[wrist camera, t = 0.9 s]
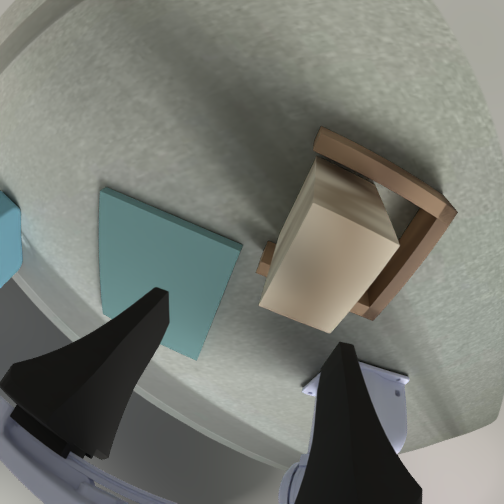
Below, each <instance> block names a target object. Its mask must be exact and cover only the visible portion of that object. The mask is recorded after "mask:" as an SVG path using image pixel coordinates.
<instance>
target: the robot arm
mask: <svg viewBox="0 0 504 504" xmlns="http://www.w3.org/2000/svg"><path fill="white" fill-rule="evenodd" d="M169 323H170V315H169V291H166V290H164V289H161V288H158V287H154V288H153V289H152V290H150V291H149V292H148V293H147V294H145V295H144V296H143V297H141V298H140V299H139V300H138V301H136V302H135V303H134V304H132V305H131V306H130V307H128V308H127V309H126V310H124V311H123V312H122V313H120V314H119V315H117V316H116V317H115V318H113V319H112V320H110V321H109V322H107V323H106V324H104V325H103V326H101V327H100V328H98V329H96V330H95V331H93V332H91V333H90V334H88V335H86V336H84V337H83V338H81V339H79V340H77V341H75V342H73V343H71V344H69V345H67V346H65V347H62V348H60V349H58V350H55V351H53V352H50V353H47V354H45V355H42V356H39V357H36V358H33V359H29V360H26V361H22V362H18V363H14V364H13V365H12V366H11V367H10V369H9V370H8V372H7V373H6V374H5V376H4V377H3V379H2V380H1V382H0V388H1V389H2V390H3V391H4V392H5V393H6V394H7V395H8V396H9V397H10V398H11V399H12V400H13V401H14V402H15V403H16V404H17V405H16V407H15V408H14V407H12V406H11V405H10V404H9V403H8V402H7V401H6V400H5V399H4V398H3V397H2V396H1V395H0V460H1V461H2V462H3V463H4V465H5V466H6V467H7V468H8V469H9V470H10V471H11V472H12V473H13V474H14V475H15V476H16V477H17V478H18V479H19V481H21V482H22V483H23V484H24V485H25V486H26V487H27V488H28V489H29V490H30V491H31V492H32V493H33V494H34V495H35V496H36V497H38V498H39V499H40V500H41V501H42V502H43V503H44V504H128V502H126V501H125V500H123V499H121V498H119V497H117V496H115V495H113V494H111V493H110V492H107V491H105V490H103V489H101V488H99V487H96V486H95V484H94V481H96V482H97V483H99V484H101V485H103V486H105V487H107V488H108V489H110V490H112V491H114V492H116V493H119V494H120V495H122V496H124V497H127V498H129V499H131V500H133V501H135V502H138V503H140V504H178V503H175V502H172V501H169V500H167V499H164V498H161V497H159V496H156V495H154V494H151V493H149V492H146V491H144V490H142V489H140V488H137V487H135V486H133V485H131V484H129V483H126V482H124V481H122V480H120V479H118V478H116V477H114V476H112V475H110V474H108V473H107V472H105V471H103V470H101V469H99V468H97V467H96V466H94V465H92V464H90V463H89V462H87V461H85V460H84V459H83V458H84V456H85V455H86V456H87V457H89V458H92V457H93V455H94V456H95V457H97V458H99V459H101V460H102V459H106V458H108V457H109V454H110V450H111V447H112V444H113V440H114V437H115V434H116V431H117V429H118V426H119V423H120V420H121V418H122V415H123V413H124V410H125V408H126V405H127V403H128V401H129V398H130V396H131V394H132V392H133V389H134V387H135V386H136V384H137V382H138V380H139V378H140V377H141V375H142V373H143V372H144V370H145V368H146V367H147V365H148V363H149V362H150V360H151V358H152V357H153V355H154V353H155V352H156V350H157V348H158V347H159V345H160V343H161V341H162V339H163V337H164V335H165V332H166V330H167V328H168V326H169ZM408 382H409V377H407V376H404V375H400V374H397V373H394V372H390V371H387V370H384V369H381V368H377V367H374V366H371V365H368V364H365V363H362V362H359V361H358V358H357V355H356V352H355V348H354V346H353V345H352V344H347V343H343V342H339V343H338V345H337V346H336V348H335V349H334V351H333V352H332V354H331V355H330V356H329V358H328V359H327V361H326V362H325V364H324V365H323V366H322V368H321V372H320V373H319V374H318V375H317V376H316V377H315V378H314V379H313V380H311V381H310V382H309V383H308V384H307V385H306V386H305V387H303V389H302V392H303V393H305V394H308V395H312V396H315V397H316V398H315V406H314V413H313V421H312V428H311V434H310V441H309V447H308V453H307V454H301V457H300V462H297V463H294V464H293V465H292V466H291V467H290V468H289V469H288V470H287V471H286V473H285V474H284V476H283V478H282V481H281V484H280V489H279V504H422V488H421V487H420V486H419V484H418V483H417V482H416V481H415V479H414V478H413V477H412V476H411V474H410V473H409V472H408V470H407V469H406V467H405V466H404V465H403V463H402V462H401V460H400V458H399V457H398V455H397V454H398V453H399V451H400V450H401V449H402V447H403V445H404V442H405V439H406V436H407V411H406V397H405V386H404V385H405V384H406V383H408ZM93 480H94V481H93Z"/></svg>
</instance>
